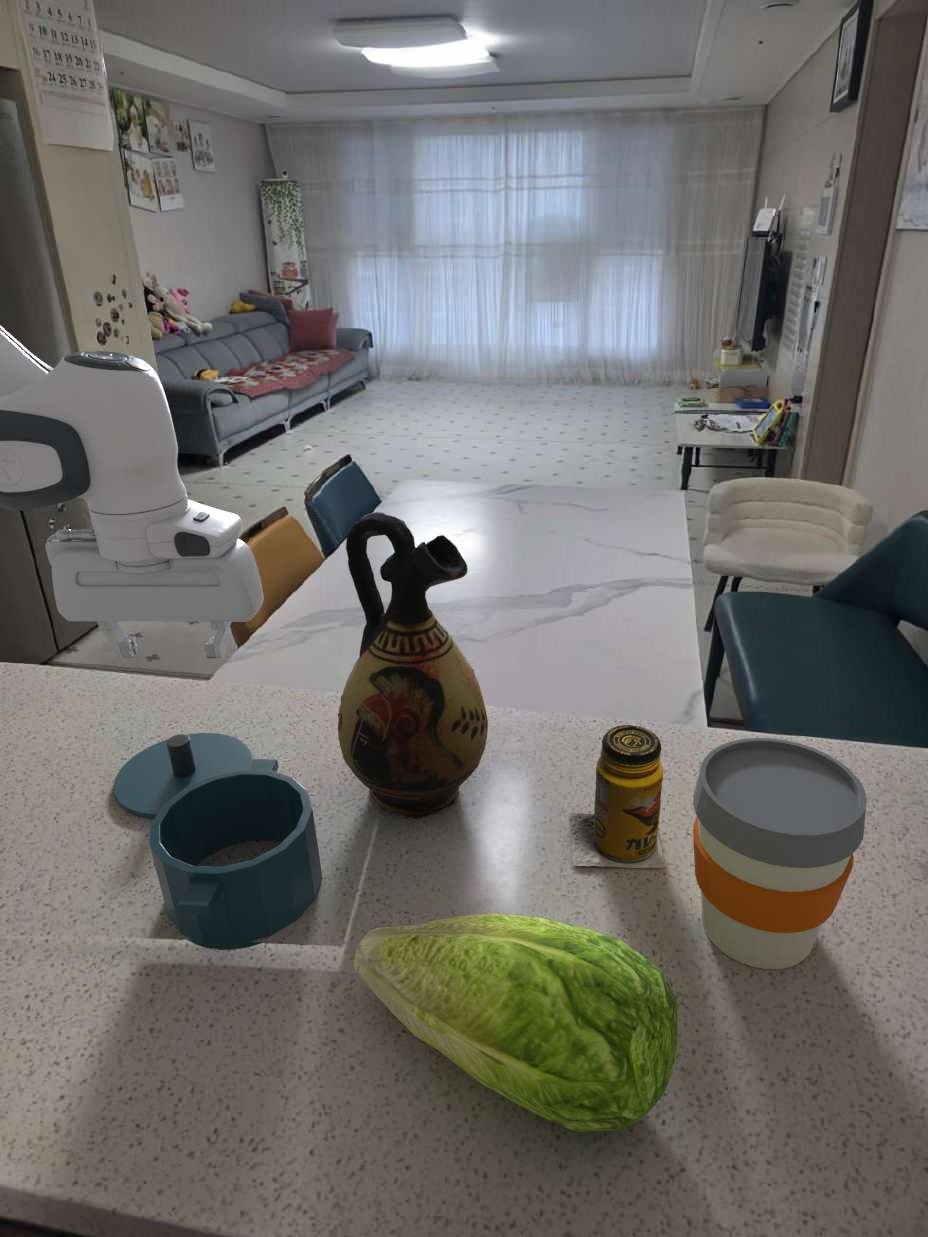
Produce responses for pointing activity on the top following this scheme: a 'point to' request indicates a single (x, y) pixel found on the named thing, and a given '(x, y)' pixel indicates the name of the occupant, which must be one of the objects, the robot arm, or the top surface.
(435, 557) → the ceramic jug
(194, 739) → the pot lid
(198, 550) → the robot arm
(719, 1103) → the top surface
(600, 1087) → the lettuce
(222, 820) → the pot
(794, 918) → the reusable coffee cup
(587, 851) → the condiment
